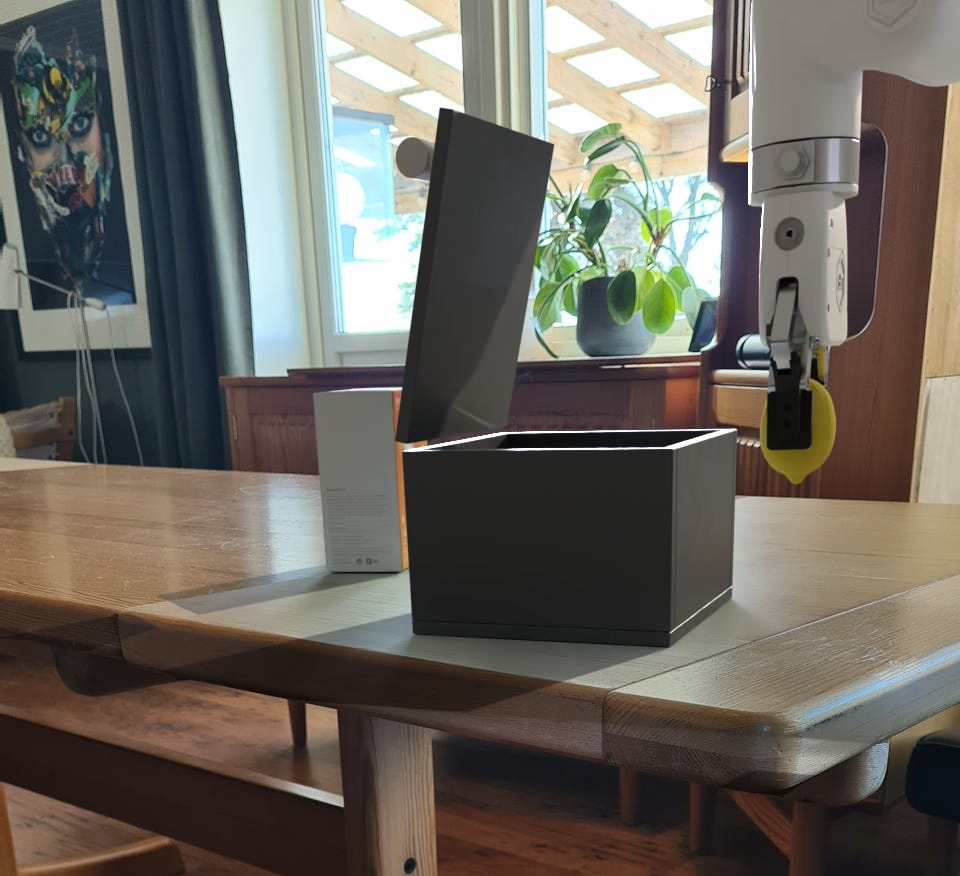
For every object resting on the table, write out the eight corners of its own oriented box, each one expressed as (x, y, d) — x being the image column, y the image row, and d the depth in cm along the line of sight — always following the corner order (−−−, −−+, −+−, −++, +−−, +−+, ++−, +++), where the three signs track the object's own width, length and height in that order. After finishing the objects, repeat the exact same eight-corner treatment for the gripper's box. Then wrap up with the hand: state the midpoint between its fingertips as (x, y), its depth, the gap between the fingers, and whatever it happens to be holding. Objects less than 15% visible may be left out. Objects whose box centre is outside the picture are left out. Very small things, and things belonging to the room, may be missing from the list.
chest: (732, 598, 82) (737, 428, 78) (670, 647, 69) (673, 448, 66) (506, 590, 88) (501, 432, 84) (412, 634, 75) (401, 451, 72)
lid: (555, 144, 76) (473, 130, 78) (453, 109, 64) (359, 93, 66) (506, 426, 84) (433, 408, 85) (407, 444, 71) (323, 423, 73)
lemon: (757, 489, 96) (759, 375, 93) (760, 482, 101) (762, 373, 98) (834, 485, 94) (838, 370, 91) (833, 479, 99) (837, 369, 96)
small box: (403, 573, 96) (392, 389, 91) (324, 573, 98) (309, 392, 93) (435, 556, 103) (426, 385, 99) (361, 556, 105) (349, 387, 100)
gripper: (838, 156, 81) (829, 453, 88) (875, 182, 96) (865, 436, 102) (721, 170, 84) (720, 457, 91) (774, 194, 99) (770, 440, 105)
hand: (797, 443), depth 96 cm, fingers closed on lemon, 5 cm apart
